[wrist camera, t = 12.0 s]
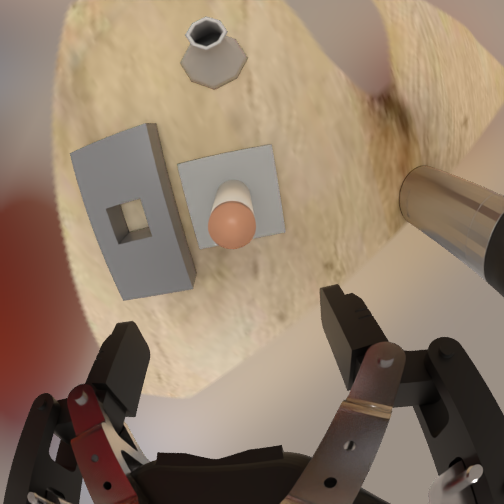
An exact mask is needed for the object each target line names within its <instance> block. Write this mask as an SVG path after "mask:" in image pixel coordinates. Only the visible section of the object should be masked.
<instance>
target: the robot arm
mask: <svg viewBox="0 0 504 504" xmlns="http://www.w3.org/2000/svg"><path fill="white" fill-rule="evenodd" d="M400 208H401V212H402V214H403V216H404V218H405V219H406V220H407V221H408V222H409V223H411V224H412V225H414V226H415V227H416V228H418V229H419V230H421V231H422V232H423V233H425V234H426V235H427V236H429V237H430V238H432V239H433V240H434V241H436V242H437V243H438V244H440V245H441V246H442V247H444V248H445V249H446V250H448V251H449V252H450V253H452V254H453V255H454V256H456V257H457V258H458V259H460V260H461V261H462V262H463V263H464V264H466V265H467V266H468V267H469V268H471V269H472V270H473V271H474V272H476V273H477V274H478V275H479V276H480V277H481V278H483V279H484V280H485V281H486V282H488V284H490V285H491V286H492V287H493V288H494V289H495V290H497V291H498V292H499V293H500V294H501V295H502V296H503V297H504V196H503V195H501V194H498V193H496V192H494V191H492V190H489V189H487V188H485V187H482V186H480V185H478V184H475V183H473V182H470V181H468V180H465V179H463V178H460V177H457V176H455V175H452V174H449V173H447V172H444V171H441V170H438V169H435V168H432V167H429V166H420V167H418V168H416V169H414V170H413V171H411V172H410V174H409V175H408V176H407V177H406V179H405V180H404V183H403V185H402V188H401V192H400ZM320 305H321V320H322V325H323V329H324V332H325V334H326V337H327V339H328V341H329V344H330V346H331V349H332V352H333V354H334V357H335V359H336V362H337V365H338V367H339V370H340V372H341V375H342V378H343V380H344V383H345V385H346V388H347V390H348V391H349V390H350V393H349V395H348V397H347V399H346V400H344V401H343V402H342V403H341V405H340V407H339V409H338V410H337V413H336V414H335V416H334V418H333V420H332V422H331V424H330V426H329V428H328V430H327V432H326V434H325V436H324V437H323V439H322V441H321V443H320V444H319V446H318V448H317V450H316V451H315V453H314V455H313V457H310V456H307V455H303V454H299V453H292V452H284V451H283V448H282V445H279V446H273V447H266V448H260V449H251V450H247V451H244V452H241V453H237V454H234V455H231V456H228V457H224V458H221V459H209V458H204V457H199V456H195V455H190V454H186V453H159V452H158V453H157V460H155V461H152V462H150V461H149V460H148V459H147V458H146V457H145V455H144V454H143V452H142V451H141V449H140V447H139V445H138V444H137V442H136V440H135V438H134V437H133V435H132V433H131V431H130V429H129V428H128V426H127V424H126V423H125V422H124V419H125V417H135V416H136V411H137V408H138V403H139V399H140V395H141V391H142V387H143V383H144V379H145V375H146V371H147V368H148V364H149V360H150V350H149V347H148V345H147V343H146V341H145V340H144V338H143V336H142V334H141V332H140V330H139V329H138V327H137V325H136V323H135V322H133V321H130V322H122V323H117V324H116V326H115V328H114V330H113V332H112V335H109V337H108V338H107V339H106V340H105V341H104V342H103V344H102V346H101V348H100V350H99V353H98V355H97V357H96V360H95V361H94V364H93V366H92V368H91V371H90V373H89V375H88V378H87V380H86V383H85V384H80V385H78V386H76V387H74V388H73V389H72V390H71V391H70V393H69V395H68V398H66V399H62V400H58V401H56V400H55V399H54V398H53V397H52V396H51V395H50V394H48V393H44V394H41V395H39V396H38V397H37V398H36V399H35V400H34V402H33V404H32V407H31V409H30V412H29V414H28V417H27V419H26V422H25V425H24V428H23V430H22V433H21V437H20V439H19V443H18V446H17V449H16V453H15V456H14V459H13V462H12V466H11V470H10V474H9V478H8V483H7V487H6V492H5V498H4V503H3V504H79V499H80V492H81V484H82V479H84V482H85V484H86V487H87V489H88V491H89V494H90V496H91V498H92V500H93V502H94V504H390V503H388V502H386V501H384V500H382V499H381V498H379V497H377V496H375V495H373V494H372V493H370V492H368V491H366V490H365V489H363V488H361V486H362V484H363V482H364V480H365V478H366V476H367V474H368V472H369V470H370V467H371V465H372V463H373V461H374V459H375V456H376V454H377V452H378V449H379V447H380V444H381V442H382V439H383V436H384V433H385V431H386V428H387V426H388V423H389V420H390V417H391V413H392V408H394V407H405V406H413V408H414V410H415V413H416V415H417V418H418V420H419V423H420V425H421V428H422V430H423V433H424V435H425V438H426V441H427V443H428V446H429V449H430V452H431V454H432V457H433V460H434V463H435V466H436V469H437V472H438V475H439V476H438V477H437V478H436V479H435V480H434V481H433V483H432V485H431V486H430V489H429V493H428V497H429V504H504V415H503V413H502V411H501V409H500V407H499V406H498V404H497V402H496V400H495V398H494V397H493V395H492V393H491V391H490V390H489V388H488V386H487V385H486V383H485V381H484V380H483V378H482V376H481V375H480V373H479V372H478V370H477V368H476V367H475V365H474V364H473V362H472V361H471V359H470V358H469V356H468V355H467V353H466V352H465V350H464V349H463V348H462V346H461V345H460V343H459V342H458V341H456V340H454V339H452V338H449V337H440V338H437V339H435V340H434V341H432V342H431V344H430V345H429V348H428V350H419V351H404V350H403V349H402V348H401V347H400V346H399V345H397V344H395V343H392V342H389V341H388V339H387V338H386V336H385V335H384V333H383V331H382V330H381V328H380V327H379V325H378V323H377V322H376V320H375V319H374V317H373V316H372V314H371V312H370V311H369V309H367V306H366V305H365V303H364V302H363V300H362V299H361V298H359V297H358V296H356V295H355V294H353V293H350V294H346V295H344V293H343V291H342V289H341V288H340V286H339V285H338V284H335V285H331V286H327V287H322V288H320ZM53 434H55V435H56V436H58V437H59V438H60V439H61V441H60V444H59V448H58V452H57V456H56V461H53V460H52V459H51V457H50V455H49V447H50V443H51V440H52V437H53Z"/></svg>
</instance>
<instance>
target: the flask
mask: <svg viewBox="0 0 504 504" xmlns="http://www.w3.org/2000/svg"><path fill="white" fill-rule="evenodd" d="M227 32H228V31H227V30H226V28H225V27H224V25H223V24H222V23H221V21H220V20H217V19H213V18H210V17H204V18H202V19H200V20H198V21H196V22H194V23H192V24H191V26H190V28H189V29H188V31H187V33H186V34H185V36H186V37H187V39H188V40H189V42H190V45H189V47H188V49H187V51H186V53H185V54H184V56H183V58H182V60H181V62H180V64H181V65H182V67H183V68H184V70H185V72H186V73H187V75H188V76H189V78H190V80H191V81H192V82H195V83H198V84H201V85H204V86H206V87H209V88H212V89H216V88H218V87H220V86H222V85H224V84H226V83H228V82H230V81H232V80H234V79H236V78H237V77H238V75H239V73H240V71H241V69H242V68H243V66H244V64H245V62H246V60H247V58H248V57H247V56H246V54H245V53H244V51H243V49H242V48H241V46H240V45H239V43H238V42H237V40H236V39H234V38H231V37H228V36H226V34H227Z"/></svg>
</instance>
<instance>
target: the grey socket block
mask: <svg viewBox="0 0 504 504" xmlns="http://www.w3.org/2000/svg"><path fill="white" fill-rule="evenodd" d="M70 156H71V160H72V164H73V168H74V171H75V175H76V179H77V182H78V186H79V189H80V192H81V195H82V199H83V202H84V205H85V208H86V211H87V214H88V217H89V220H90V222H91V225H92V228H93V231H94V233H95V236H96V239H97V241H98V244H99V246H100V249H101V251H102V254H103V256H104V259H105V261H106V264H107V266H108V268H109V271H110V273H111V275H112V277H113V280H114V282H115V284H116V286H117V288H118V290H119V293H120V295H121V297H122V299H123V301H124V300H131V299H137V298H143V297H149V296H155V295H161V294H167V293H173V292H179V291H184V290H190V289H193V287H194V282H195V277H196V270H195V267H194V264H193V260H192V257H191V254H190V251H189V247H188V244H187V241H186V238H185V234H184V231H183V227H182V224H181V220H180V217H179V213H178V210H177V206H176V203H175V199H174V195H173V191H172V188H171V184H170V180H169V176H168V172H167V168H166V164H165V160H164V156H163V152H162V148H161V144H160V139H159V135H158V131H157V126H156V123H145V124H142V125H139V126H136V127H133V128H130V129H128V130H125V131H122V132H119V133H117V134H114V135H112V136H109V137H106V138H104V139H101V140H99V141H97V142H94V143H92V144H90V145H87V146H85V147H83V148H80V149H78V150H76V151H74V152H72V153H70ZM136 199H141V202H142V206H143V209H144V212H145V215H146V219H147V222H148V225H149V227H147V228H143V229H139V230H135V231H131V232H129V230H128V228H127V225H126V222H125V219H124V216H123V213H122V210H121V206H120V204H123V203H126V202H129V201H133V200H136Z"/></svg>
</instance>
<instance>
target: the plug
mask: <svg viewBox="0 0 504 504" xmlns="http://www.w3.org/2000/svg"><path fill="white" fill-rule="evenodd" d="M208 231H209V234H210V236H211V238H212V240H213V241H214V242H215V243H216V244H218V245H219V246H221V247H224V248H227V249H237V248H241V247H243V246H245V245H246V244H248V243H249V242H250V241H251V240H252V238H253V237H254V235H255V231H256V222H255V216H254V211H253V206H252V201H251V195H250V191H249V189H248V187H247V186H246V185H245V184H244V183H243V182H241V181H239V180H227V181H225V182H223V183H222V184H221V185H220V186H219V188H218V189H217V192H216V196H215V200H214V203H213V207H212V211H211V214H210V218H209V222H208Z"/></svg>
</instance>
